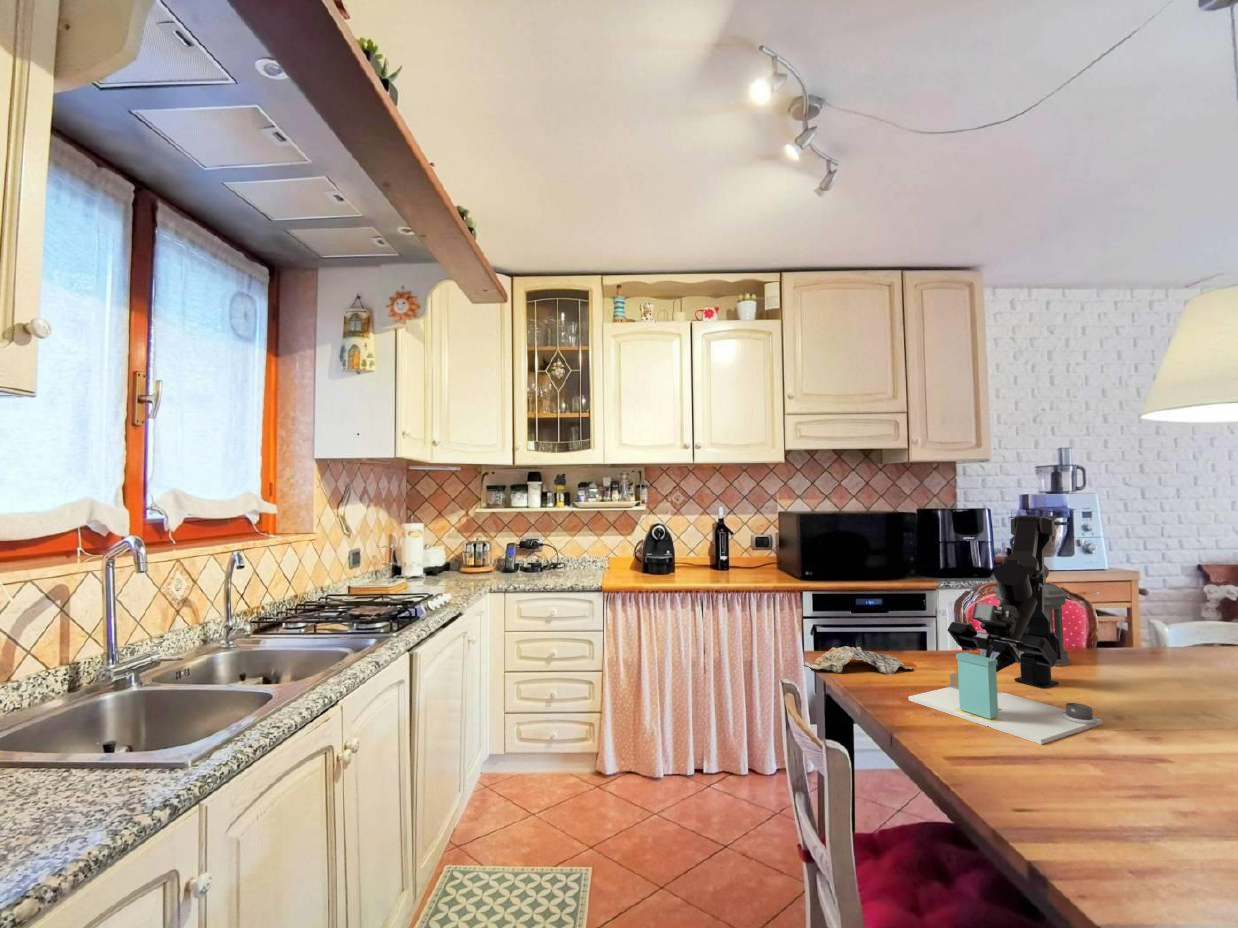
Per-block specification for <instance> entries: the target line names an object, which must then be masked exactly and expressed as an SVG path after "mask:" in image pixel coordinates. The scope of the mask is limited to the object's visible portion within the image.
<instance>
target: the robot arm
mask: <svg viewBox="0 0 1238 928" xmlns="http://www.w3.org/2000/svg"><path fill="white" fill-rule="evenodd" d="M1055 525H1056V524H1055V521H1054V520H1053V519H1050V518H1049V517H1048V516H1038V515H1018V516H1014V518H1011V519H1010V534H1011V535H1012V536H1014V535H1015V537H1014V541H1013V549H1012V551H1011V554H1010V555H1007V556H1006V557H1004V558H1003V562H1002V563H1001V564H999V565H998V566H997V567H996V568H995V569H994V571H993V576H994V580H995V583H996V586H997V587H996V588H998V591H999V594H1000V596H1001V597H1002V600H1001V602H1000V601H999V604H998V606H997V605H994V604H988V603H987V604H986V603H980V602H975V603H974V608H973V611H972V612H973V613H972V616H971V618H972V619H973V620H976V621H977V622H980V624H979V627H981V629H982V630H980V629H978V630H976V629H975V628H974V625H972V623H967V622H959V621H952V622H951V623H950V624H949V626H948V628H947V629H946V630H947V632H948V633H949V635H950V637H952V638H953V640H954V641H955V643H956V644H957V645H958V646H959V647H961V648H964V649H969V650H973V651H975V650H978V649H979V656H983V657H987V658H992V659H996V660H997V665H996V674H997V673H998V672H1000V671H1002V670H1003V669H1006V668H1007V667H1010V666H1012V665H1014V664H1020V665H1019V666H1020V676H1019V677H1015V678H1014V680H1013V681H1015V682H1018V683H1021V682H1022V684H1025V683H1026V685H1030V686H1034V687H1037V688H1038V687H1039V688H1042V689H1046V688H1049V687H1053V686H1054V687H1055V686H1057V685H1060V681H1057V680H1053V678H1052V668H1054V667H1053V666H1054V665H1055V663H1056V661H1057V659H1061V649H1060V642H1059V639H1058V638H1057V637H1056V634H1055V632H1054V627H1053V628H1052V626H1051V624H1050V622H1049V621H1048V620H1047V618H1046V617H1045V615H1044V583H1045V582H1046V581H1047V578H1046V576H1045V575H1044V565H1045V555H1044V554H1046V553H1047V551H1048V550H1050V548H1051V546H1052V545H1053V537H1055V536H1056V528H1055V527H1056V526H1055ZM1046 583H1047V582H1046ZM983 630H984V631H983ZM1053 632H1054V633H1053Z"/></svg>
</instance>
